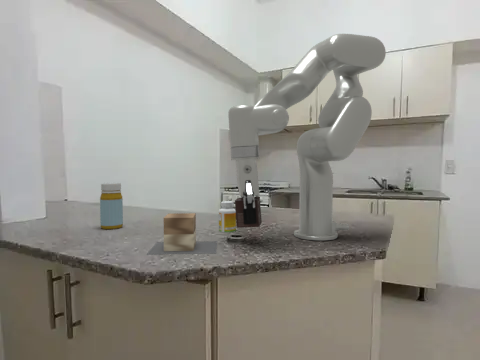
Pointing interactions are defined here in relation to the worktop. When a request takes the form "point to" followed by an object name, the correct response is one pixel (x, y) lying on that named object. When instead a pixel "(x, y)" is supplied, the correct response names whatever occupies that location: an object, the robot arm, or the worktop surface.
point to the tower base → (180, 242)
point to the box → (239, 213)
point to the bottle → (111, 206)
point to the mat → (200, 248)
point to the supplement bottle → (227, 217)
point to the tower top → (179, 223)
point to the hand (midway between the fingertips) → (248, 220)
